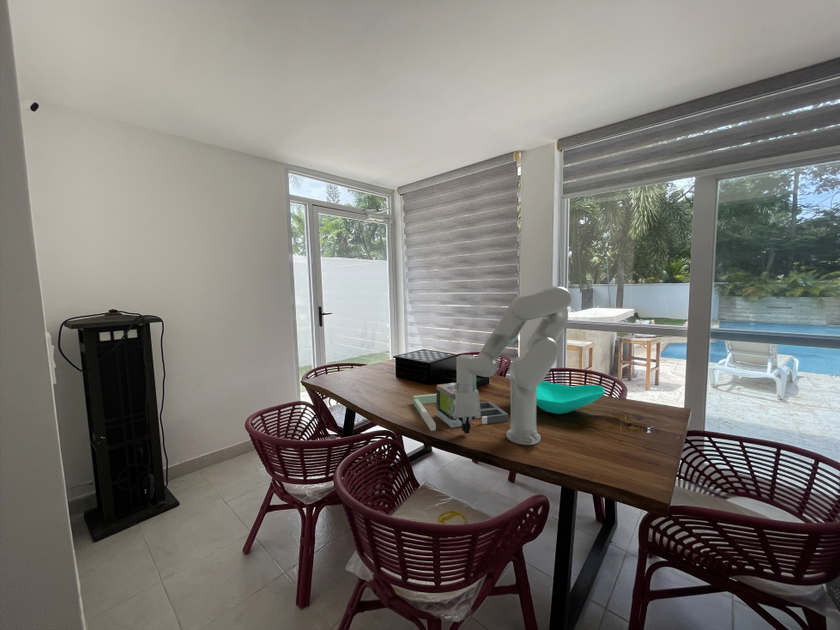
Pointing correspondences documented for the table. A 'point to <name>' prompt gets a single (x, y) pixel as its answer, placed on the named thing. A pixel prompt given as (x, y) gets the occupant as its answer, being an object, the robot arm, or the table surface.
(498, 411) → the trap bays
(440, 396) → the tea box
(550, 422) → the table surface
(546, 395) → the table top decor
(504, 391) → the table surface
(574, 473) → the table surface
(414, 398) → the lane
